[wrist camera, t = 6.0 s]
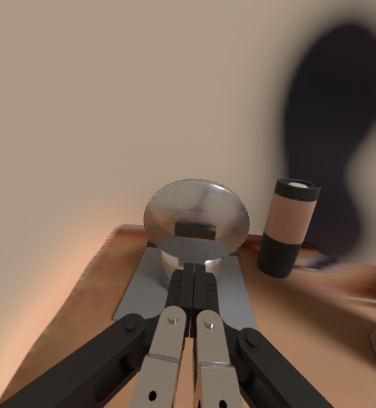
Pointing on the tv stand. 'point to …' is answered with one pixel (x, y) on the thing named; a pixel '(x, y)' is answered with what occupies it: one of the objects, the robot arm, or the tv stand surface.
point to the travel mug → (286, 225)
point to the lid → (196, 220)
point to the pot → (172, 263)
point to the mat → (157, 294)
